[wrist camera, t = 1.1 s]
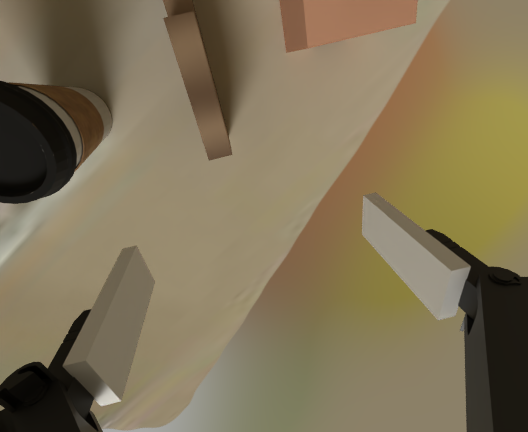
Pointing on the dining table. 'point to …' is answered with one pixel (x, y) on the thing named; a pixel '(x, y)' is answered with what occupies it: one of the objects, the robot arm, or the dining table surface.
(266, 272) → the dining table surface
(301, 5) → the notched block
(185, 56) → the slotted board
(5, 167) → the coffee cup
